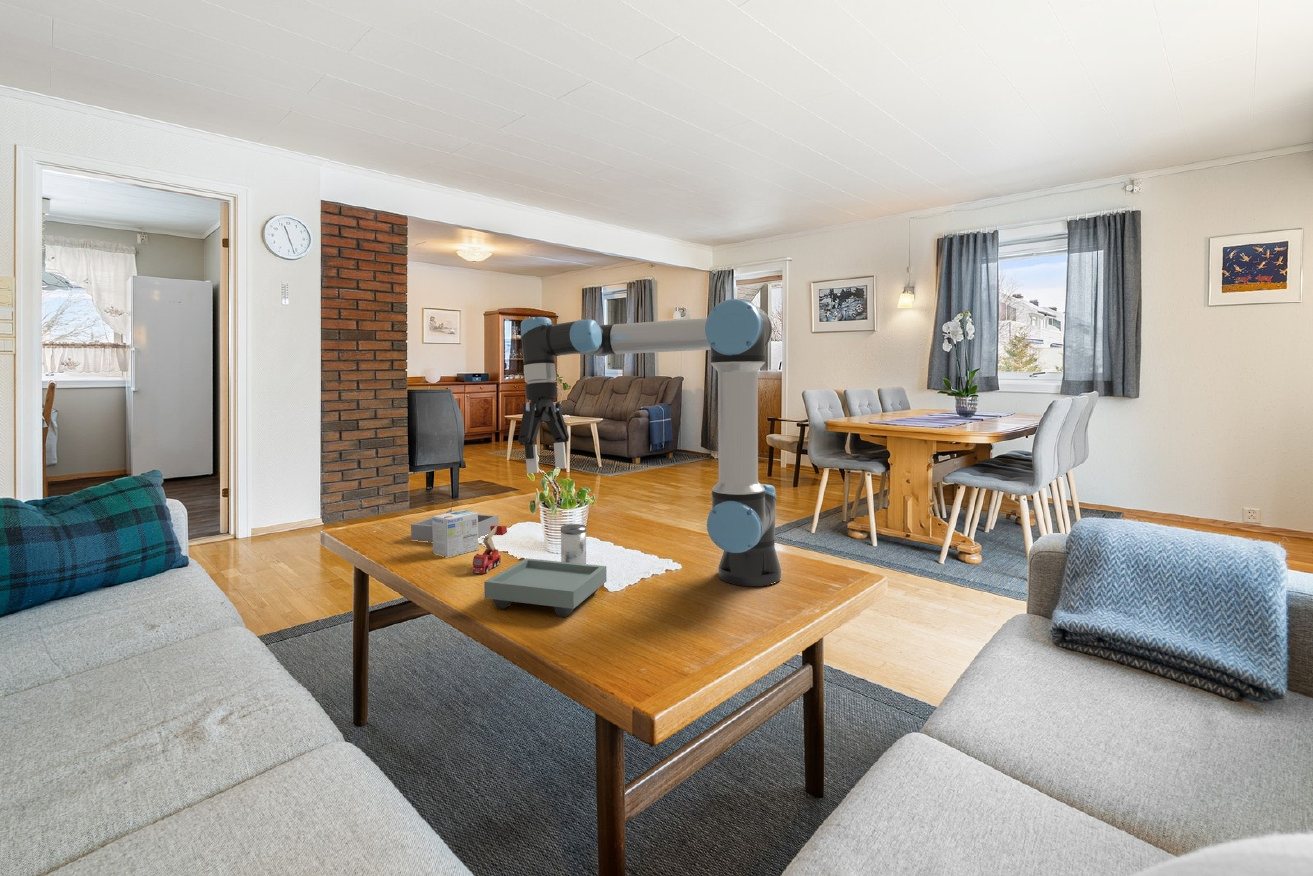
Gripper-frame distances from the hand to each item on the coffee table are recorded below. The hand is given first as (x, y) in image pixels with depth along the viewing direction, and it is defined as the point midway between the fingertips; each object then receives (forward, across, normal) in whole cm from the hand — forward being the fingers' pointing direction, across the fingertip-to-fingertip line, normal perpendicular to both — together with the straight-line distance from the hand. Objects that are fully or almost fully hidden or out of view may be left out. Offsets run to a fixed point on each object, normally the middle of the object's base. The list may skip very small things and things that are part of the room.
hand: (547, 470), depth 157 cm
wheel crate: (+19, -24, -46) cm, 55 cm away
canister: (+26, -3, +3) cm, 26 cm away
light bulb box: (+21, -9, -36) cm, 43 cm away
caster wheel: (+20, -24, -46) cm, 55 cm away
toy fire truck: (+24, -1, -19) cm, 31 cm away
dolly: (+27, +15, +6) cm, 32 cm away
